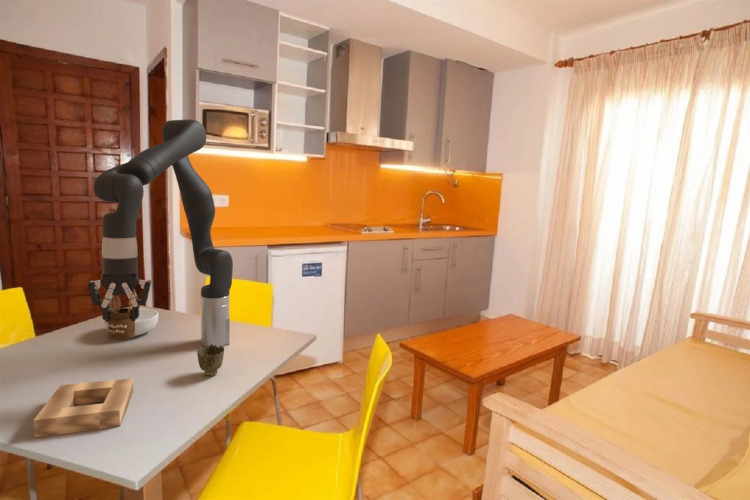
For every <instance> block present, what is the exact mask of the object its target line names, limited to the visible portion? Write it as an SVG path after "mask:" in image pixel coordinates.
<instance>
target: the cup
mask: <svg viewBox="0 0 750 500" xmlns="http://www.w3.org/2000/svg"><path fill="white" fill-rule="evenodd" d="M196 353H197V360H198V361H197V362H198V365H199V366H198V367H199V368H200V370H202V371H203V374H204V375H205V376H206V377H214V376H216V375H217V374H218V370H219V369H220V368H221V367H222V365H223V362H224V354H225V347H224V346H219V347H217V346H216V345H215V346H214V345H213V344H211V345H210V346H209V347H208V346H207V345H206V346H203V345H202V346H201V347H198V348H197V350H196Z"/></svg>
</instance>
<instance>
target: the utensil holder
mask: <svg viewBox="0 0 750 500" xmlns="http://www.w3.org/2000/svg"><path fill="white" fill-rule="evenodd" d="M135 292H136V291H135ZM135 292H133V295H135ZM115 296H116V297H115V298H116V299H117V301H118V304H116V303H113V304H114V306H115V307H112V305H109V306H110V307H111V311H110V313H109V316H110V318H109V321H108V329H107V337H108V339H109V340H110V341H115V342H119V341H121V342H122V341H126V340H130V339H132V338H134V335H135V321H132V306H133V305H132V303H131V297H132V293H131V297H130V300H129V299H128V305H129V306H128V307H122V308H121V304H122V303H121V301H119V300H121V299H120V297H119V296H120V295H115ZM112 299H113V301H114V302H116V299H114V298H112ZM113 301H112V300H111V301H110V302H109V304H112V302H113ZM117 305H118V306H117Z"/></svg>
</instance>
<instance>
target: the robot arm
mask: <svg viewBox="0 0 750 500" xmlns="http://www.w3.org/2000/svg"><path fill="white" fill-rule="evenodd" d="M161 135H162V140H163V142H161V143H158V144H156V145H153V146H150V147H149V148H146V149H145V150H142V151H141V152H139V153H138V154H136V155H135V156H133V157H132V158H131V159H130V160H129V161H126V162H125V163H122V164H119V165H116V166H114V167H111V168H109V169H107V170H105V171H103V172H101V173H100V174H99V175H98V176H97V177H96V178H95V180H94V182H93V192H94V196H96V197H97V198H98V200H99V199H100V200H101V201H103V202H108V203H118V204H117V207H116V210H115V211H113V212H112V211H111V212H106V213H105V214H104V215H103V216H102V243H101V262H102V264H101V268H102V272H101V273H102V275H101V278H100V279H98V280H93V279H92V280H90V281H89V282H88V283H87V289H88V291H89V295H90V298H91V302H92V305H93V306H96V307H97V306H99V307H101V311H102V317H101V318H102V320H103V321H104V323H105V322H108V321H109V318H110V316H109V313H110V311H111V310H112V306H111V305H110V303H109V302H111V301H112V299H113V298H114V296H116V295H118V296H120V295H121V296H127V298H128V301H129V300H130V297H131V293H132V297H131V303H132V305H131V309H132V321H136V319H138V317H139V308H140V306H142V305H145V304H146V303H147V301H148V298H149V295H150V291H151V286H152V280H151V279H147V280H146V279H145V280H144V279H141V278H140V277H139V273H138V272H139V271H138V269H139V268H138V262H139V261H138V242H137V218H138V216H139V212H140V208H141V205H142V201H143V198H144V192H145V191H144V186H147V185H148V184H150V183H152V182H153V181H154V180H155V179H156V178H158V177H159V176H160V175H161V174H162V173H164V172H165V171H167V169H169V168H171V166H172V170H173V172H174V175H175V179H176V182H177V186H178V189H179V195H180V199H181V202H182V203H181V204H182V207H183V210H184V213H185V216H186V222H187V225H188V229H189V234H190V238H191V243H192V251H193V258H194V259H193V260H194V263H195V267H196V269H197V270H198V272H199V273H201V274H203V275H207V276H209V277H210V278H209V283H208V284H206V285H203V286H202V287H201V289H200V331H201V332H200V343H201V345H202V346H203V347H205V346H206V345H207V346H208V347H209V346H210V345H211V344H213V345H214V346H215V345H216V346H217V348H218V347H219V348H220V346H222V347H224V346H226V345H230V344H231V343H230V338H231V337H230V331H231V330H230V329H231V328H230V327H231V326H230V322H231V321H230V290H231V287H232V285H233V268H234V267H233V265H234V263H233V262H234V261H233V257H232V255H231V253H230V252H229V251H228V250H223V249H218V248H215V246H214V244H213V240H212V235H211V232H212V225H213V223H214V220H215V215H216V207H215V202H214V198H213V193H212V190H211V189H210V187H209V185H208V184H207V183H206V181H205V180H204V179H203V178H202V177H201V175H200V174H199V173H197V171H196V170H195V168H194V166H193V165H192V163H191V160H190V157H189V155H191V154H194V153H196V152H197V151H199V150H201V149H203V147H204V146H205V145H206V143H207V132H206V129H205V126H204V125H203V124H202V123H201V122H200V121H199V120H196V119H174V120H173V119H172V120H166V121H165V122H164V123H163V125H162V129H161ZM138 285H140V288H141V289H143V290H142V295H141V298H140V299H139V298H138V295H137V292H136V290H135V288H136V287H137V286H138ZM101 286H102V287H103V288H104V289H105V290H106V293H105V296H104V298H103V299H102V298H101V295H100V292H99V291H100V290H99V289H100V288H101ZM133 292H135V295H133ZM110 306H111V307H110Z"/></svg>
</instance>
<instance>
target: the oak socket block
mask: <svg viewBox="0 0 750 500" xmlns="http://www.w3.org/2000/svg"><path fill="white" fill-rule="evenodd" d="M133 395H134V378H132V377H131V378H122V379H121V378H119V379H113V380H112V379H110V380H101V381H90V382H78V383H70V384H59V386H58V388H56V390H55V391H54V392H53V394H52V395H51V397H50V398H49V399H48V400H47V402H46V403H45V404H44V406H43V407H42V409H41V410H39V412H38V414H37V415H36V417H35V418H34V419H33V428H34V430H33V431H34V437H35V438H39V437H47V436H53V435H54V436H56V435H65V434H71V433H77V432H78V433H79V432H85V431H92V430H94V431H95V430H102V429H107V428H108V429H110V428H117V427H121V425H122V422H123V420H124V417H125V414H126V413H127V410H128V408H129V405H130V403H131V399H132V398H133Z"/></svg>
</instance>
